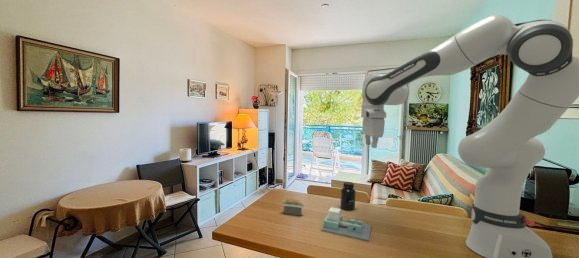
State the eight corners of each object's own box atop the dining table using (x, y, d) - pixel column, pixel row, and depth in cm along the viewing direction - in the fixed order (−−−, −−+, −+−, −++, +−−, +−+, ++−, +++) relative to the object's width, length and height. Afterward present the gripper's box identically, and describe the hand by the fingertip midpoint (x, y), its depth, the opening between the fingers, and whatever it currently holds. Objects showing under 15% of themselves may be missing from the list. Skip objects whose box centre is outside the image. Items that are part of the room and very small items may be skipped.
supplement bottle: (352, 212, 107) (353, 186, 106) (338, 208, 110) (339, 183, 110) (356, 207, 113) (357, 182, 112) (343, 204, 116) (343, 180, 115)
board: (371, 226, 93) (371, 219, 93) (368, 241, 82) (369, 233, 82) (329, 218, 100) (329, 211, 100) (321, 230, 89) (321, 223, 89)
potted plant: (277, 207, 112) (278, 193, 111) (315, 211, 107) (315, 197, 107) (269, 217, 100) (269, 202, 100) (310, 223, 96) (311, 207, 95)
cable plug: (360, 227, 91) (361, 212, 90) (359, 232, 87) (360, 216, 87) (330, 221, 96) (330, 207, 95) (327, 225, 92) (328, 210, 92)
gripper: (359, 113, 109) (358, 143, 110) (370, 113, 88) (369, 149, 89) (373, 113, 108) (372, 143, 109) (388, 113, 88) (386, 150, 89)
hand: (370, 146), depth 99 cm, fingers open, 8 cm apart
